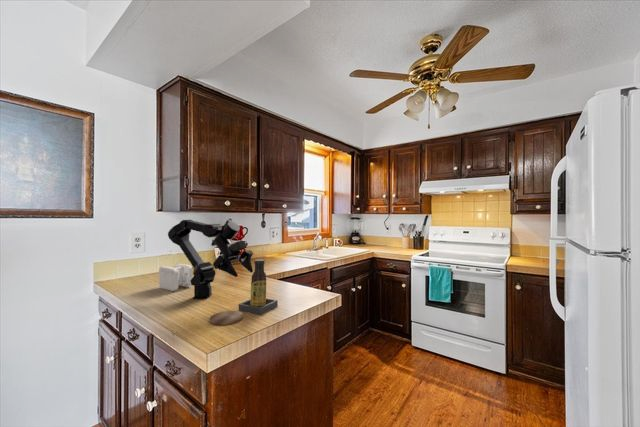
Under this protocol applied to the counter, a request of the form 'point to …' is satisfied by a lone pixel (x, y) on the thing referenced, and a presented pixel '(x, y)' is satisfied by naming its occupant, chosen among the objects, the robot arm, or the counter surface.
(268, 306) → the dark grey square tray
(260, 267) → the sauce bottle
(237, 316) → the coaster
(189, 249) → the robot arm
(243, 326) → the counter surface
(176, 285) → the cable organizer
